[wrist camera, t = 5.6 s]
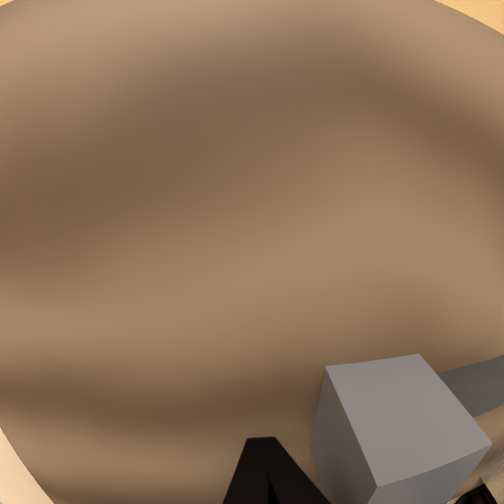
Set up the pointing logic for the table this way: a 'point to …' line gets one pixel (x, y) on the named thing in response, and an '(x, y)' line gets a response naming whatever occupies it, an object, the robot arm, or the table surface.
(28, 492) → the table surface
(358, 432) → the plug
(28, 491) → the table surface
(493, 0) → the table surface
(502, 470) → the motor housing
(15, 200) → the base board
